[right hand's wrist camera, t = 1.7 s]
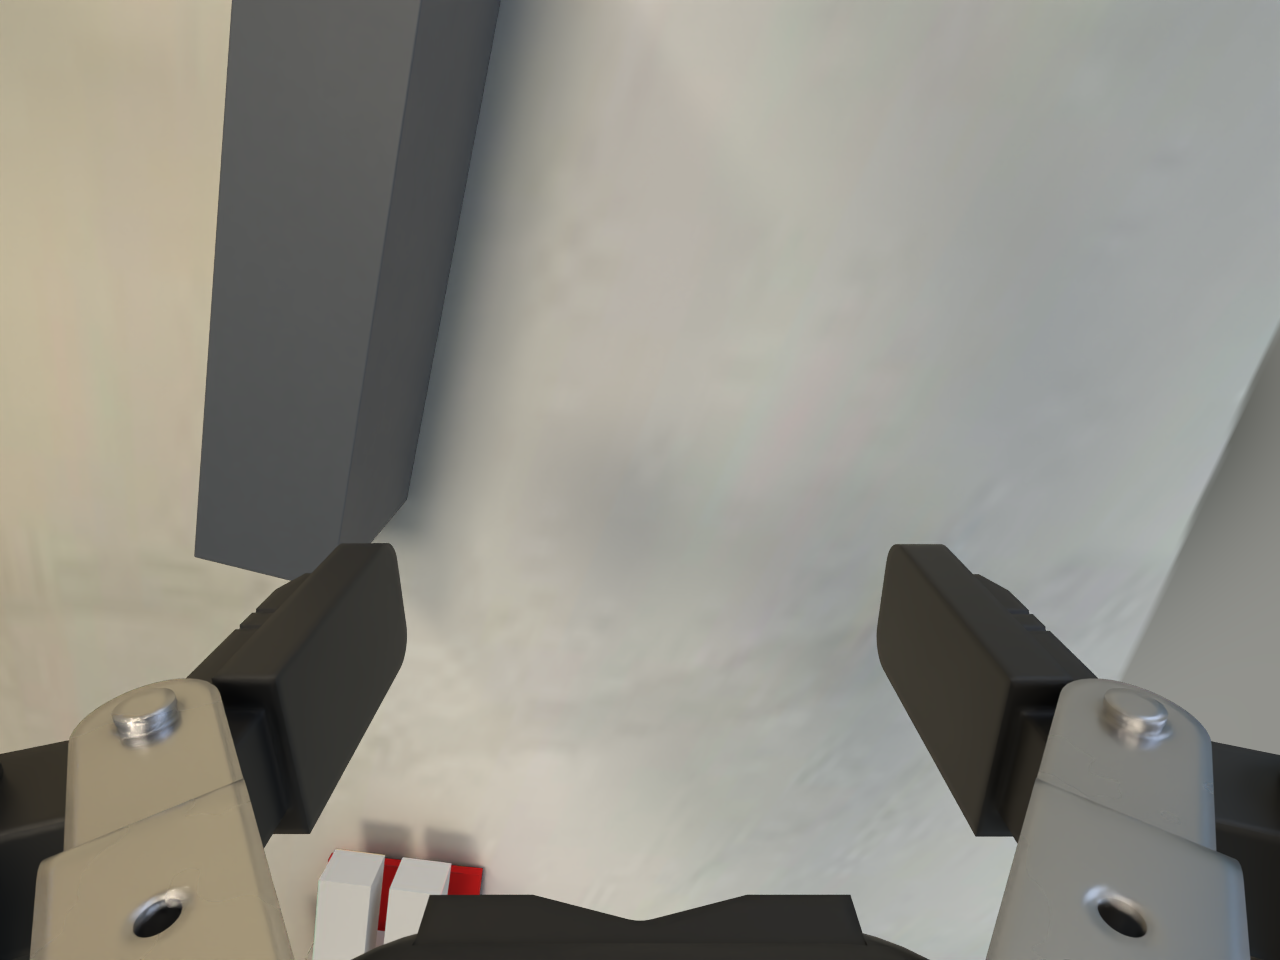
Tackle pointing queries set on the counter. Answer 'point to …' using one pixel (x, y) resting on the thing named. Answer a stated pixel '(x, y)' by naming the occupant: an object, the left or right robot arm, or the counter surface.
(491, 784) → the counter surface
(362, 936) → the toy
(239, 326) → the bar
